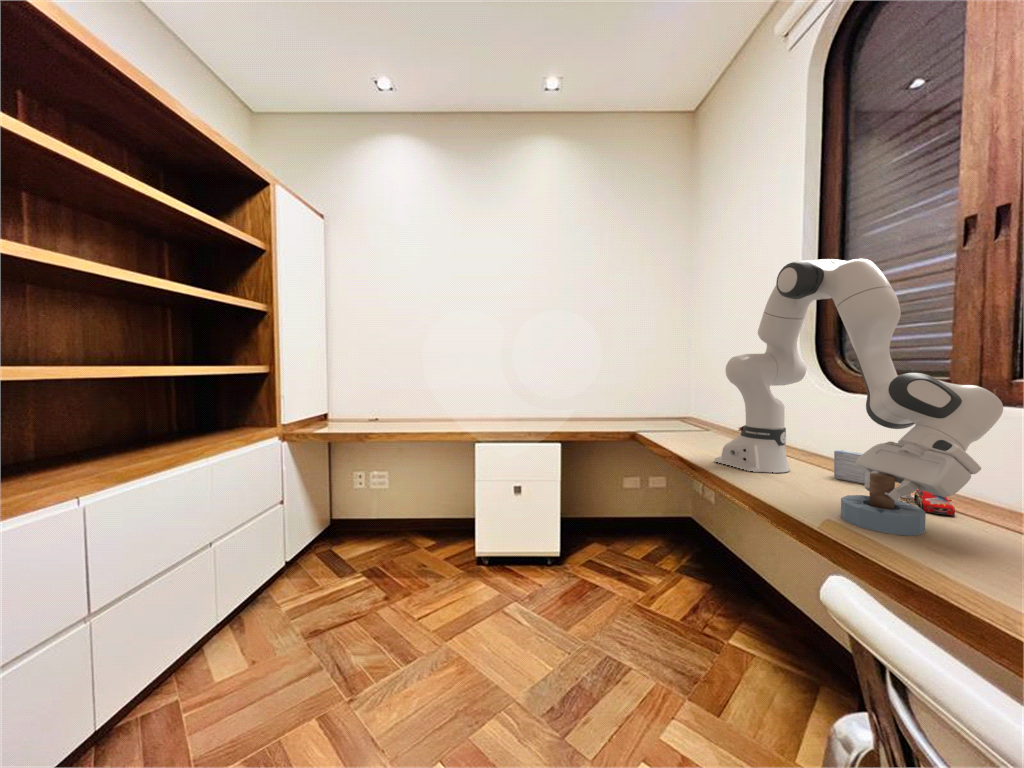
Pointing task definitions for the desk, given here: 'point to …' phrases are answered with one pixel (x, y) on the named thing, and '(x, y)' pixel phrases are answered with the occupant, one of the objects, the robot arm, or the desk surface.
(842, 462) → the grey ridged block
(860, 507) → the bead
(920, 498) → the race car
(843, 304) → the robot arm
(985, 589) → the desk surface
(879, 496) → the dowel
